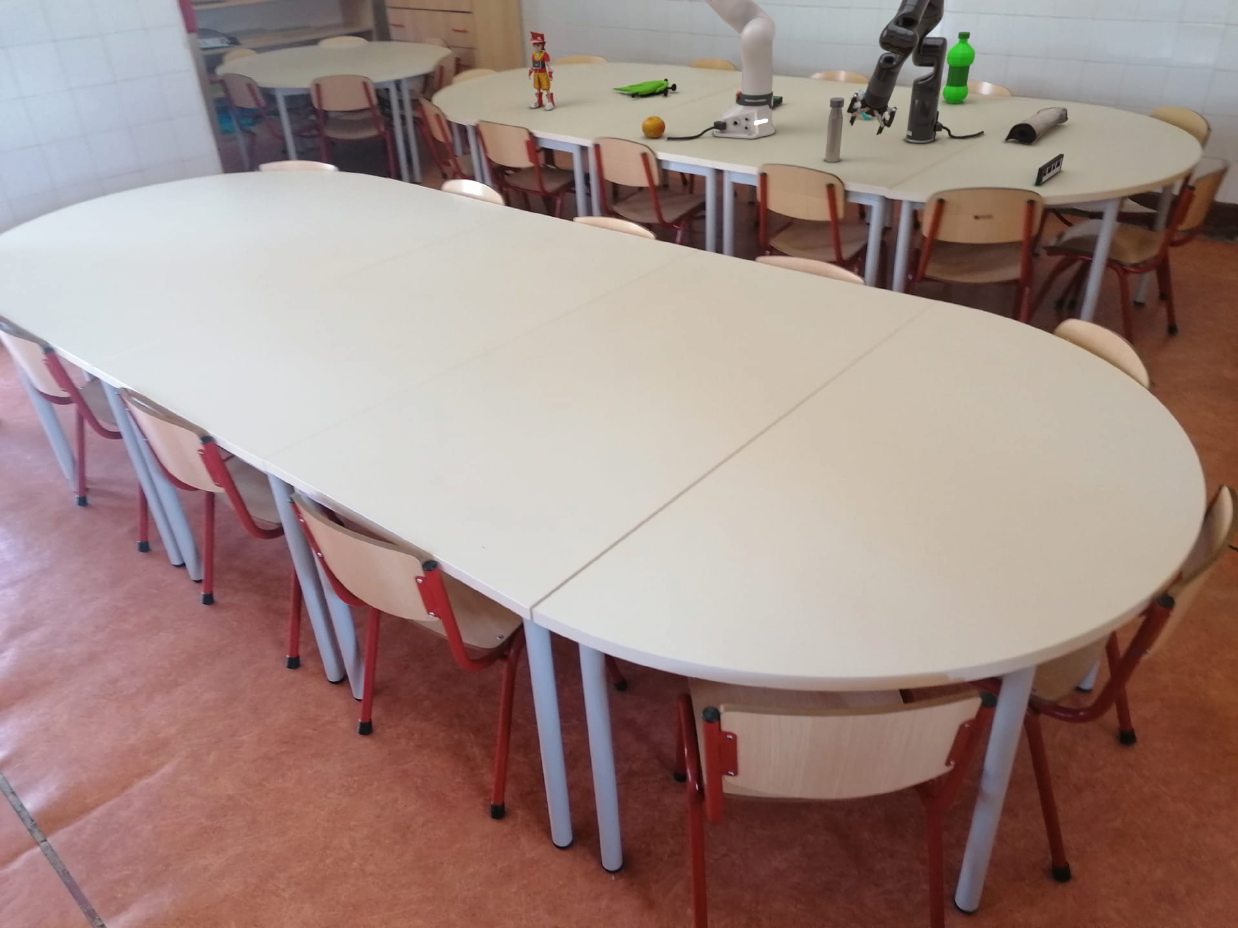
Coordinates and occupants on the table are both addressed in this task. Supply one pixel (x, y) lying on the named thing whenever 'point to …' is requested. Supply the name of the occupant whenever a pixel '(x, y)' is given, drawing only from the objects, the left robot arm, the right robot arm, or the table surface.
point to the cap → (837, 102)
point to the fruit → (653, 127)
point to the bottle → (834, 135)
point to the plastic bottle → (958, 69)
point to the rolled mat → (1037, 125)
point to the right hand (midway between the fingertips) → (865, 128)
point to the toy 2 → (648, 88)
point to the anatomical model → (861, 94)
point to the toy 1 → (541, 71)
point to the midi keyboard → (1049, 169)
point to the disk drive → (777, 101)
